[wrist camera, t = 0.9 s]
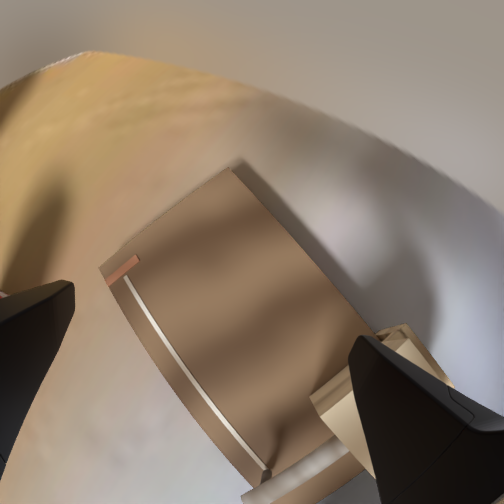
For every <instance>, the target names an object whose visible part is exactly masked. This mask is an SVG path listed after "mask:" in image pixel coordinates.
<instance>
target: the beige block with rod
mask: <svg viewBox="0 0 504 504" xmlns="http://www.w3.org/2000/svg"><path fill="white" fill-rule="evenodd" d="M375 335H376V336H377V337H378V339H379V340H380V341H381V343H383V344H384V345H386V346H387V347H389V348H390V349H392V350H394V351H395V352H397V353H398V354H400V355H401V356H403V357H405V358H406V359H408V360H409V361H411V362H412V363H414V364H416V365H417V366H419V367H420V368H422V369H423V370H425V371H427V372H428V373H430V374H431V375H433V376H434V377H436V378H438V379H439V380H441V381H442V382H444V383H445V384H446V385H449V386H450V387H452V388H453V389H454V388H455V386H454V385H453V384H452V382H451V381H450V380H449V378H448V377H447V375H446V374H445V373H444V371H443V370H442V369H441V367H440V366H439V365H438V363H437V362H436V361H435V359H434V358H433V357H432V356H431V354H430V353H429V352H428V350H427V349H426V348H425V346H424V345H423V344H422V343H421V341H420V340H419V339H418V337H417V336H416V335H415V334H414V332H413V331H412V330H411V329H410V327H409V326H408V325H407V324H406V323H405V324H401V325H397V326H394V327H390V328H386V329H382V330H379V331H378V332H377V333H376V334H375ZM309 398H310V400H311V401H312V403H313V405H314V407H315V409H316V411H317V413H318V415H319V416H320V418H321V419H322V420H323V421H324V422H325V424H326V425H327V426H328V427H329V428H330V429H331V430H332V432H333V433H334V434H335V435H333V436H332V437H331V438H329V439H328V440H327V441H325V442H324V443H323V444H321V445H320V446H319V447H317V448H316V449H314V450H313V451H312V452H310V453H309V454H307V455H306V456H304V457H303V458H302V459H300V460H299V461H297V462H296V463H294V464H293V465H291V466H290V467H288V468H287V469H285V470H283V471H282V472H280V473H279V474H277V475H275V476H274V477H272V471H271V470H269V469H266V470H264V471H263V472H262V477H261V482H260V485H259V486H257V487H255V488H254V489H252V490H250V491H248V492H247V493H245V494H243V495H241V500H242V502H243V504H270V503H271V502H273V501H275V500H277V499H278V498H280V497H282V496H284V495H285V494H287V493H289V492H290V491H292V490H293V489H295V488H297V487H298V486H300V485H301V484H303V483H305V482H306V481H308V480H309V479H311V478H312V477H314V476H315V475H317V474H318V473H320V472H321V471H322V470H324V469H325V468H327V467H328V466H330V465H331V464H332V463H334V462H335V461H337V460H338V459H339V458H341V457H342V456H343V455H345V454H346V453H347V452H349V451H350V452H351V453H352V454H353V455H354V456H355V458H356V459H357V460H358V461H359V462H360V463H361V464H362V465H363V466H364V467H365V469H366V470H367V471H368V472H369V473H370V474H371V475H372V476H373V477H374V478H375V474H374V470H373V466H372V462H371V458H370V454H369V451H368V447H367V443H366V439H365V435H364V432H363V428H362V424H361V421H360V417H359V414H358V410H357V406H356V403H355V399H354V394H353V388H352V382H351V376H350V371H349V365H348V366H346V367H345V368H344V369H343V370H342V371H340V372H339V373H338V374H337V375H336V376H335V377H333V378H332V379H331V380H330V381H328V382H327V383H326V384H325V385H323V386H322V387H321V388H320V389H318V390H317V391H316V392H315V393H313V394H312V395H311V396H310V397H309ZM375 479H376V478H375Z"/></svg>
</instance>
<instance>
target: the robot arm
mask: <svg viewBox="0 0 504 504" xmlns="http://www.w3.org/2000/svg"><path fill="white" fill-rule="evenodd" d="M74 311H75V287H74V284H73V283H72V282H70V281H66V280H58V281H55V282H52V283H48V284H45V285H42V286H39V287H35V288H32V289H29V290H26V291H22V292H19V293H16V294H13V295H10V296H6V297H3V298H0V480H1V477H2V475H3V472H4V469H5V466H6V464H5V463H7V461H8V458H9V455H10V453H11V450H12V448H13V445H14V443H15V440H16V438H17V436H18V433H19V431H20V429H21V426H22V424H23V422H24V419H25V417H26V415H27V413H28V411H29V408H30V406H31V404H32V402H33V400H34V398H35V396H36V394H37V392H38V389H39V387H40V385H41V383H42V381H43V379H44V377H45V375H46V374H47V372H48V370H49V368H50V366H51V364H52V362H53V360H54V358H55V356H56V354H57V352H58V350H59V348H60V346H61V343H62V341H63V338H64V336H65V333H66V331H67V328H68V326H69V324H70V321H71V319H72V317H73V314H74ZM348 365H349V371H350V376H351V382H352V388H353V394H354V399H355V403H356V406H357V410H358V414H359V417H360V421H361V424H362V428H363V432H364V435H365V439H366V443H367V447H368V451H369V454H370V458H371V462H372V466H373V470H374V474H375V478H376V483H377V487H378V491H379V495H380V500H381V504H504V417H503V416H501V415H499V414H497V413H495V412H493V411H492V410H490V409H488V408H486V407H484V406H482V405H481V404H479V403H477V402H475V401H473V400H472V399H470V398H468V397H466V396H465V395H463V394H462V393H460V392H458V391H457V390H455V389H453V388H452V387H450V386H449V385H446V384H445V383H444V382H442V381H441V380H439V379H438V378H436V377H434V376H433V375H431V374H430V373H428V372H427V371H425V370H423V369H422V368H420V367H419V366H417V365H416V364H414V363H412V362H411V361H409V360H408V359H406V358H405V357H403V356H401V355H400V354H398V353H397V352H395V351H394V350H392V349H390V348H389V347H387V346H386V345H384V344H383V343H381V342H379V341H378V340H376V339H375V338H373V337H372V336H369V335H359V336H358V337H357V338H356V340H355V342H354V344H353V347H352V349H351V351H350V353H349V355H348Z"/></svg>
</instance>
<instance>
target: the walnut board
mask: <svg viewBox="0 0 504 504" xmlns="http://www.w3.org/2000/svg"><path fill="white" fill-rule="evenodd" d="M99 270H100V272H101V273H102V275H103V277H104V279H105V282H106V284H107V285H108V287H109V288H110V290H111V292H112V294H113V296H114V297H115V299H116V301H117V303H118V304H119V306H120V308H121V310H122V311H123V313H124V315H125V317H126V318H127V320H128V322H129V323H130V325H131V327H132V328H133V330H134V332H135V333H136V335H137V336H138V338H139V340H140V341H141V343H142V344H143V346H144V348H145V349H146V351H147V352H148V354H149V355H150V357H151V358H152V360H153V361H154V363H155V364H156V366H157V367H158V369H159V370H160V372H161V373H162V375H163V376H164V378H165V379H166V381H167V382H168V383H169V385H170V386H171V388H172V389H173V390H174V392H175V393H176V395H177V396H178V397H179V399H180V400H181V402H182V403H183V404H184V406H185V407H186V408H187V410H188V411H189V412H190V414H191V415H192V416H193V417H194V419H195V420H196V421H197V423H198V424H199V425H200V426H201V428H202V429H203V430H204V432H205V433H206V434H207V435H208V437H209V438H210V439H211V440H212V441H213V443H214V444H215V445H216V446H217V447H218V449H219V450H220V451H221V452H222V453H223V455H224V456H225V457H226V458H227V459H228V460H229V461H230V463H231V464H232V465H233V466H234V467H235V468H236V469H237V471H238V472H239V473H240V474H241V475H242V476H243V477H244V478H245V479H246V480H247V481H248V483H249V484H250V485H251V486H252V487H253V488H255V487H257V486H259V485H260V482H261V477H262V472H263V471H264V470H266V469H269V470H271V471H272V477H274V476H275V475H277V474H279V473H280V472H282V471H283V470H285V469H287V468H288V467H290V466H291V465H293V464H294V463H296V462H297V461H299V460H300V459H302V458H303V457H304V456H306V455H307V454H309V453H310V452H312V451H313V450H314V449H316V448H317V447H319V446H320V445H321V444H323V443H324V442H325V441H327V440H328V439H329V438H331V437H332V436H333V435H335V434H334V433H333V432H332V430H331V429H330V428H329V427H328V426H327V425H326V424H325V422H324V421H323V420H322V419H321V418H320V416H319V415H318V413H317V411H316V409H315V407H314V405H313V403H312V401H311V400H310V398H309V397H310V396H311V395H312V394H313V393H315V392H316V391H317V390H318V389H320V388H321V387H322V386H323V385H325V384H326V383H327V382H328V381H330V380H331V379H332V378H333V377H335V376H336V375H337V374H338V373H339V372H340V371H342V370H343V369H344V368H345V367H346V366H348V355H349V353H350V351H351V349H352V347H353V344H354V342H355V340H356V338H357V337H358V336H359V335H369V336H372V337H373V338H375V339H376V340H378V341H379V342H381V341H380V340H379V339H378V337H377V336H376V335H375V334H374V332H373V331H372V330H371V329H370V328H369V326H368V325H367V324H366V323H365V322H364V320H363V319H362V318H361V317H360V316H359V314H358V313H357V312H356V311H355V310H354V308H353V307H352V306H351V305H350V304H349V302H348V301H347V300H346V299H345V298H344V296H343V295H342V294H341V293H340V292H339V291H338V289H337V288H336V287H335V286H334V285H333V284H332V282H331V281H330V280H329V279H328V278H327V277H326V275H325V274H324V273H323V272H322V271H321V270H320V268H319V267H318V266H317V265H316V264H315V263H314V262H313V260H312V259H311V258H310V257H309V256H308V255H307V254H306V252H305V251H304V250H303V249H302V248H301V247H300V246H299V244H298V243H297V242H296V241H295V240H294V239H293V238H292V236H291V235H290V234H289V233H288V232H287V231H286V230H285V229H284V228H283V226H282V225H281V224H280V223H279V222H278V221H277V220H276V219H275V217H274V216H273V215H272V214H271V213H270V212H269V211H268V210H267V209H266V208H265V206H264V205H263V204H262V203H261V202H260V201H259V200H258V199H257V198H256V197H255V195H254V194H253V193H252V192H251V191H250V190H249V189H248V188H247V187H246V186H245V185H244V184H243V182H242V181H241V180H240V179H239V178H238V177H237V176H236V175H235V174H234V173H233V172H232V171H231V170H230V168H229V167H228V168H226V169H225V170H224V171H222V172H221V173H219V174H218V175H216V176H215V177H214V178H212V179H211V180H209V181H208V182H207V183H205V184H204V185H203V186H201V187H200V188H198V189H197V190H196V191H194V192H193V193H192V194H190V195H189V196H188V197H186V198H185V199H184V200H182V201H181V202H180V203H178V204H177V205H176V206H174V207H173V208H172V209H170V210H169V211H168V212H166V213H165V214H164V215H162V216H161V217H160V218H159V219H157V220H156V221H155V222H153V223H152V224H151V225H150V226H148V227H147V228H146V229H145V230H143V231H142V232H141V233H140V234H138V235H137V236H136V237H135V238H133V239H132V240H131V241H130V242H128V243H127V244H126V245H125V246H124V247H122V248H121V249H120V250H119V251H118V252H116V253H115V254H114V255H113V256H112V257H110V258H109V259H108V260H107V261H106V262H104V263H103V264H102V265H101V266H100V267H99ZM363 470H365V467H364V466H363V465H362V464H361V463H360V462H359V461H358V460H357V459H356V458H355V456H354V455H353V454H352V453H351V452H350V451H349V452H347V453H346V454H345V455H343V456H342V457H341V458H339V459H338V460H337V461H335V462H334V463H332V464H331V465H330V466H328V467H327V468H325V469H324V470H322V471H321V472H320V473H318V474H317V475H315V476H314V477H312V478H311V479H309V480H308V481H306V482H305V483H303V484H301V485H300V486H298V487H297V488H295V489H293V490H292V491H290V492H289V493H287V494H285V495H284V496H282V497H280V498H278V499H277V500H275V501H273V502H271V503H270V504H316V503H317V502H319V501H320V500H322V499H324V498H325V497H327V496H328V495H330V494H331V493H333V492H334V491H336V490H337V489H339V488H340V487H342V486H343V485H344V484H346V483H347V482H349V481H350V480H351V479H353V478H354V477H355V476H357V475H358V474H360V473H361V472H362V471H363Z"/></svg>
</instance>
